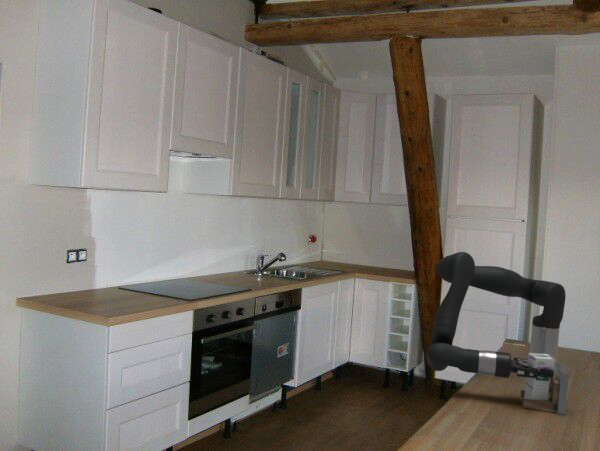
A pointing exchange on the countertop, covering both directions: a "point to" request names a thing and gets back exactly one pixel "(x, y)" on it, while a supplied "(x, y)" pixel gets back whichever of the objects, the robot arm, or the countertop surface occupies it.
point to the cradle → (543, 404)
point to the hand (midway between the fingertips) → (551, 370)
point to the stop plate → (561, 387)
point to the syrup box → (539, 378)
